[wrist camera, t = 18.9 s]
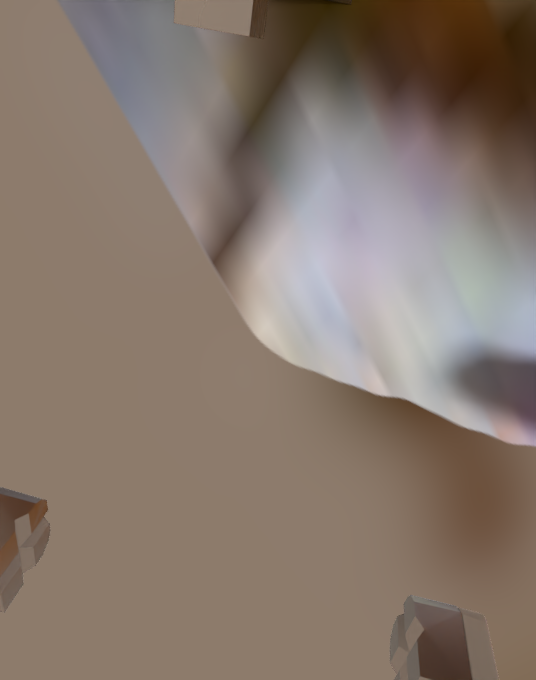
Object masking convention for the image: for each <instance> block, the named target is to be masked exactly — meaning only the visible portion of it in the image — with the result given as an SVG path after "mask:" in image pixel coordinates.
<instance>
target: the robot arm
mask: <svg viewBox="0 0 536 680" xmlns="http://www.w3.org/2000/svg"><path fill="white" fill-rule="evenodd" d="M47 511H48V506H47V500H45V499H41V498H37V497H34V496H30V495H27V494H23V493H19V492H16V491H12V490H9V489H5V488H3V487H0V612H5V611H6V610H7V608H8V606H9V605H10V603H11V602H12V600H13V599H14V598H15V596H16V595H17V593H18V592H19V590H20V589H21V587H22V586H23V573H24V572H26V571H27V570H29V569H31V568H32V567H34V566H36V564H37V563H38V561H39V560H40V558H41V557H42V555H43V553H44V551H45V548H46V546H47V544H48V541H49V536H50V523H49V522H48V521H47V520H46V519H45V517H44V515H45V514H46V512H47ZM390 664H391V665H392V667H393V669H394V671H395V672H396V674H397V675H396V677H395V679H394V680H499V677H498V672H497V668H496V663H495V658H494V653H493V649H492V644H491V640H490V634H489V630H488V625H487V620H486V619H485V617H484V615H483V614H481V613H479V612H475V611H470V610H466V609H462V608H458V607H456V606H454V605H449V604H446V603H441V602H437V601H433V600H429V599H425V598H421V597H417V596H413V595H410V596H408V597H407V599H406V601H405V602H404V614H402V615H399V616H397V618H396V621H395V623H394V625H393V629H392V634H391V639H390Z"/></svg>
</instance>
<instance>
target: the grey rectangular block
mask: <svg viewBox="0 0 536 680" xmlns="http://www.w3.org/2000/svg"><path fill="white" fill-rule="evenodd" d="M267 8H268V0H175V9H174V23H176V24H182V25H187V26H193V27H198V28H204V29H210V30H215V31H221V32H227V33H232V34H238V35H244V36H249V37H255V38H261V39H264V32H265V24H266V16H267Z"/></svg>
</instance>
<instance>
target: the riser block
mask: <svg viewBox="0 0 536 680" xmlns="http://www.w3.org/2000/svg"><path fill="white" fill-rule="evenodd" d="M327 1H333V2H339V3H344V4H350V5H351V2H352V0H327Z"/></svg>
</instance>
